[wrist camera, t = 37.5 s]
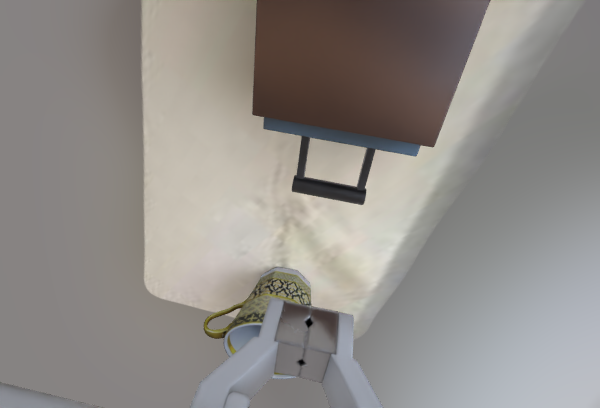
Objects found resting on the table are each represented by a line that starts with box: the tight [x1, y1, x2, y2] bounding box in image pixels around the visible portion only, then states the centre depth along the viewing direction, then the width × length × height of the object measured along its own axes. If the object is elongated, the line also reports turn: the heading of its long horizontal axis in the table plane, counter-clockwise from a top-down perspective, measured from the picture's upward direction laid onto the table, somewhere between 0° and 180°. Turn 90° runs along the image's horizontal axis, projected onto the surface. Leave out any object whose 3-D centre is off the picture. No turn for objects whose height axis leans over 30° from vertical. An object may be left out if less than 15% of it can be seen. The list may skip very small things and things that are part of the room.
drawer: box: [263, 117, 420, 205], centre depth 24 cm, size 19×11×7 cm, turn 173°
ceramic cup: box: [204, 267, 311, 379], centre depth 39 cm, size 13×10×10 cm
